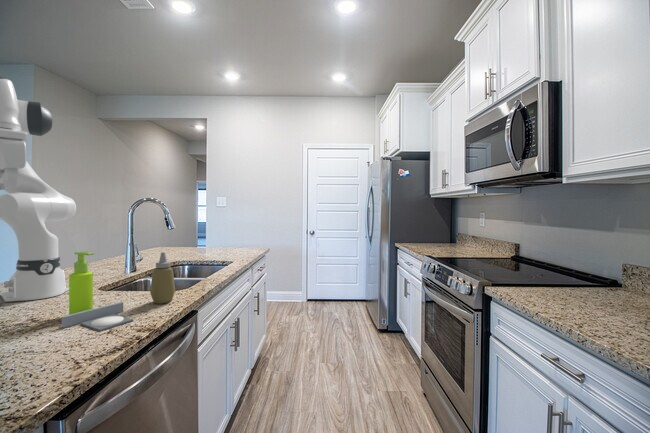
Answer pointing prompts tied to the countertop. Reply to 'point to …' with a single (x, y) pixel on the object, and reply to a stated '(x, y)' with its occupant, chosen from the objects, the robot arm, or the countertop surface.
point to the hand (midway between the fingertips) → (5, 188)
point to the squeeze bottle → (162, 281)
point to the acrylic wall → (91, 314)
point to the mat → (106, 322)
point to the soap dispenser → (81, 286)
